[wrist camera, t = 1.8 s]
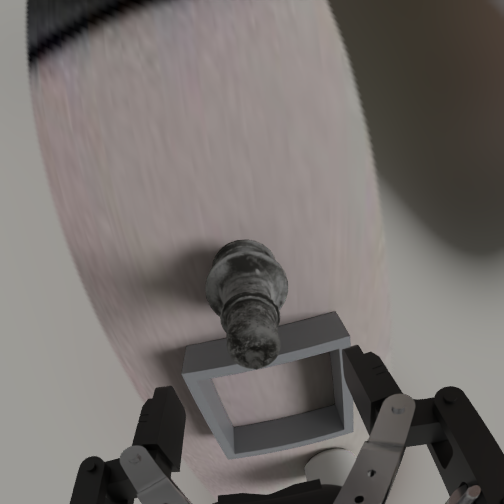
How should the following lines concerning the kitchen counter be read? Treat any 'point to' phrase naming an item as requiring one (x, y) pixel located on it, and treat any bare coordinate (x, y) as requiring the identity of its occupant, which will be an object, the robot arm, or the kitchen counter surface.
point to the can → (330, 466)
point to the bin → (291, 349)
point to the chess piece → (248, 301)
